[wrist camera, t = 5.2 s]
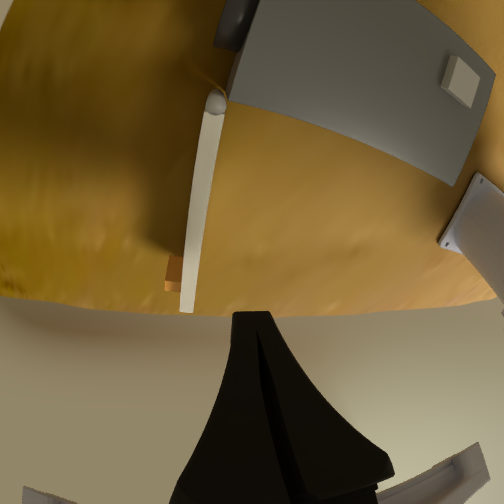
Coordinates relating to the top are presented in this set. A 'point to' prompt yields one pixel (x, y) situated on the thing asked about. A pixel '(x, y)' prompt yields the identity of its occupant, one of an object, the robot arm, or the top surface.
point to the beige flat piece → (197, 204)
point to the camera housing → (361, 74)
